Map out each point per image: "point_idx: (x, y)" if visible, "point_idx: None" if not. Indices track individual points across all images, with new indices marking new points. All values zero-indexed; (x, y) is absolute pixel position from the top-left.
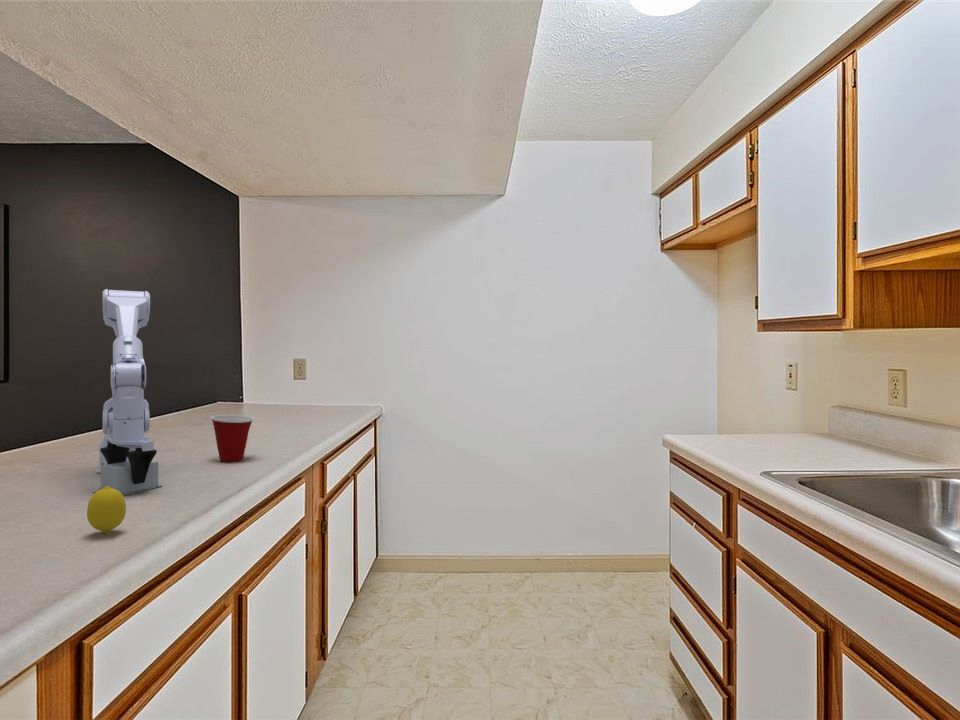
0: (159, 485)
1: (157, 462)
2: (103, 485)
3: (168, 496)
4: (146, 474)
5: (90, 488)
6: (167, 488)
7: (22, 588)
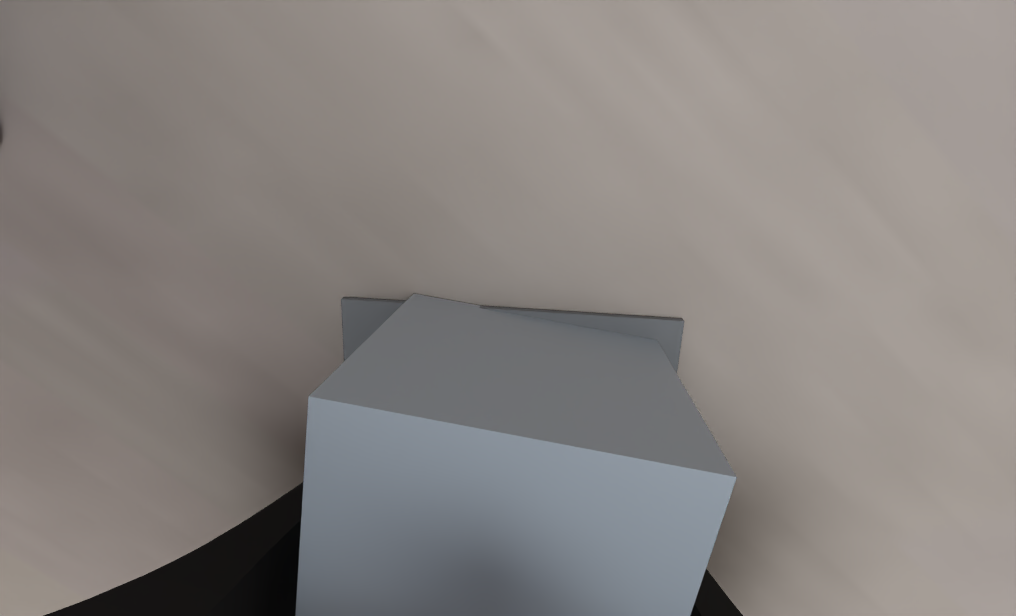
0: (649, 317)
1: (730, 482)
2: None
3: (978, 539)
4: (725, 597)
5: (210, 538)
6: (775, 343)
7: None
